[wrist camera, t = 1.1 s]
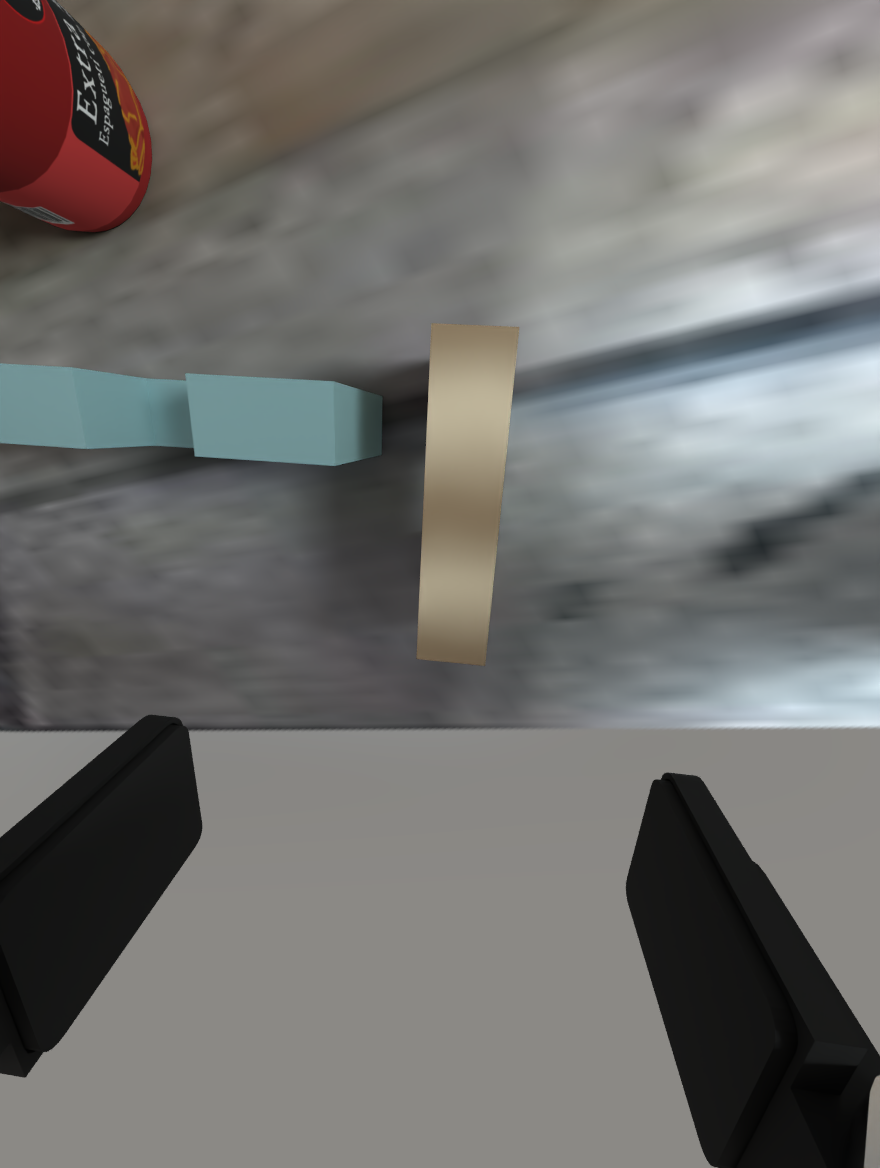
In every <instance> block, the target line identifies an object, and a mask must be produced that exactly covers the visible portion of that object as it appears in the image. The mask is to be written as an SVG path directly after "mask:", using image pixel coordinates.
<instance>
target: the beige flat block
mask: <svg viewBox="0 0 880 1168" xmlns="http://www.w3.org/2000/svg"><path fill="white" fill-rule="evenodd" d="M518 334H519V327H505V326H481V325H457V324H433V323H432V325H431V347H430V369H429V392H428V414H427V436H426V458H425V481H424V503H423V525H422V548H421V570H420V592H419V615H418V637H417V659H422V660H432V661H442V662H452V663H461V664H471V665H481V666H485V661H486V651H487V641H488V631H489V621H490V612H491V602H492V592H493V582H494V572H495V562H496V552H497V542H498V532H499V523H500V513H501V503H502V493H503V483H504V473H505V463H506V453H507V443H508V433H509V424H510V414H511V404H512V394H513V384H514V374H515V364H516V354H517V344H518Z"/></svg>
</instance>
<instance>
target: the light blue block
mask: <svg viewBox="0 0 880 1168" xmlns="http://www.w3.org/2000/svg"><path fill="white" fill-rule="evenodd" d="M185 374H186V373H185ZM0 443H8V444H22V445H37V446H52V447H66V448H81V449H96V448H116V447H137V446H169V447H184V448H194V452H195V456H198V457H212V458H227V459H241V460H256V461H271V462H285V463H300V464H314V465H329V466H337V465H341V464H345V463H350V462H354V461H358V460H362V459H367V458H371V457H375V456H379V455H382V396H380V395H376V394H373V393H370V392H367V391H363V390H360V389H357V388H354V387H350V386H347V385H344V384H341V383H337V382H334V381H318V380H299V379H280V378H261V377H243V376H224V375H205V374H186V381H184V380H166V379H147V378H140V377H133V376H126V375H119V374H113V373H106V372H99V371H92V370H86V369H79V368H72V367H55V366H36V365H17V364H0Z"/></svg>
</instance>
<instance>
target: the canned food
mask: <svg viewBox="0 0 880 1168" xmlns="http://www.w3.org/2000/svg"><path fill="white" fill-rule="evenodd" d="M151 164H152V149H151V138H150V133H149V128H148V124H147V120H146V117H145V115H144V112H143V109H142V107H141V104H140V102H139V100H138V98H137V96H136V95H135V93H134V91H133V89H132V87H131V86H130V84H129V82H128V80H127V79H126V77H125V75H124V74H123V72H122V70H121V69H120V67H119V66H118V65H117V63H116V62H115V61H114V60H113V58H112V57H111V56H110V54H109V53H108V52H107V51H106V50H105V49H104V48H103V47H102V46H101V45H100V44H99V43H98V42H97V41H96V40H95V39H94V38H93V37H92V36H91V35H90V34H89V33H88V32H87V31H86V30H85V29H84V28H83V27H82V26H81V25H80V24H79V23H78V22H77V21H76V20H75V19H74V18H73V17H72V16H71V15H70V14H69V13H68V12H67V11H66V10H65V9H64V8H63V7H62V6H61V5H60V4H59V3H58V2H57V1H56V0H0V201H1V202H3V203H5V204H8V205H10V206H12V207H14V208H16V209H19V210H21V211H23V212H25V213H27V214H29V215H32V216H34V217H36V218H38V219H40V220H42V221H45V222H47V223H49V224H51V225H54V226H57V227H60V228H63V229H66V230H74V231H84V232H100V231H106V230H109V229H112V228H114V227H116V226H119V225H120V224H121V223H123V222H124V221H125V220H127V219H128V218H129V217H130V216H131V215H132V214H133V213H134V211H135V210H136V209H137V208H138V206H139V205H140V203H141V201H142V199H143V197H144V195H145V193H146V190H147V186H148V183H149V179H150V174H151Z"/></svg>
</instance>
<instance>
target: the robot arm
mask: <svg viewBox="0 0 880 1168" xmlns="http://www.w3.org/2000/svg"><path fill="white" fill-rule="evenodd" d="M201 833H202V820H201V813H200V806H199V799H198V793H197V786H196V779H195V772H194V765H193V758H192V752H191V745H190V738H189V732H188V729H187V728H186V727H185V726H183V725H182V722H181V721H180V719H178V718H175V717H166V716H157V715H148V716H145V717H144V718H142V719H141V720H140V721H138V722H137V723H136V724H135V725H134V726H132V727H131V728H130V729H129V730H128V731H127V732H125V733H124V734H123V735H122V736H121V737H119V738H118V739H117V740H116V741H115V742H113V743H112V744H111V745H110V746H109V747H108V748H106V749H105V750H104V751H103V752H102V753H100V754H99V755H98V756H97V757H96V758H95V759H93V760H92V761H91V762H90V763H88V764H87V765H86V766H85V767H84V768H83V769H81V770H80V771H79V772H78V773H77V774H75V775H74V776H73V777H72V778H71V779H69V780H68V781H67V782H66V783H65V784H63V786H61V787H60V788H59V789H57V790H56V791H55V792H54V793H53V794H52V795H50V796H49V797H48V798H47V799H46V800H44V801H43V802H42V803H41V804H40V805H38V806H37V807H36V808H35V809H34V810H33V811H31V812H30V813H29V814H28V815H27V816H25V817H24V818H23V819H22V820H21V821H19V822H18V823H17V824H16V825H15V826H13V827H12V828H11V829H10V830H9V831H8V832H6V833H5V834H4V835H3V836H2V837H1V838H0V1073H2V1074H7V1075H14V1076H19V1077H26V1076H27V1075H28V1073H29V1072H30V1070H31V1069H32V1067H33V1066H34V1065H35V1063H36V1062H37V1060H38V1059H39V1058H40V1056H41V1055H42V1053H43V1052H47V1051H49V1050H51V1049H52V1048H53V1047H54V1046H55V1045H57V1043H59V1041H60V1040H61V1039H62V1037H63V1036H64V1035H65V1033H66V1032H67V1030H68V1029H69V1027H70V1026H71V1025H72V1023H73V1022H74V1020H75V1019H76V1018H77V1016H78V1015H79V1013H80V1012H81V1010H82V1009H83V1008H84V1006H85V1005H86V1003H87V1002H88V1000H89V999H90V997H91V996H92V995H93V993H94V992H95V990H96V989H97V987H98V986H99V985H100V983H101V982H102V980H103V979H104V977H105V976H106V974H107V973H108V972H109V970H110V969H111V967H112V966H113V964H114V963H115V962H116V960H117V959H118V957H119V956H120V954H121V953H122V951H123V950H124V949H125V947H126V946H127V944H128V943H129V941H130V940H131V939H132V937H133V936H134V934H135V933H136V931H137V930H138V928H139V927H140V926H141V924H142V923H143V921H144V920H145V918H146V917H147V915H148V914H149V913H150V911H151V910H152V908H153V907H154V906H155V904H156V902H157V901H158V900H159V898H160V897H161V895H162V894H163V892H164V891H165V890H166V888H167V887H168V885H169V884H170V883H171V881H172V879H173V878H174V877H175V875H176V874H177V872H178V871H179V870H180V868H181V867H182V865H183V864H184V862H185V861H186V860H187V858H188V856H189V855H190V854H191V852H192V851H193V849H194V848H195V846H196V845H197V843H198V841H199V839H200V836H201ZM626 895H627V901H628V905H629V908H630V911H631V915H632V918H633V921H634V925H635V928H636V931H637V935H638V938H639V941H640V945H641V948H642V951H643V955H644V958H645V961H646V965H647V968H648V971H649V975H650V978H651V981H652V985H653V988H654V991H655V994H656V998H657V1001H658V1004H659V1008H660V1011H661V1014H662V1018H663V1021H664V1025H665V1028H666V1031H667V1035H668V1038H669V1041H670V1045H671V1048H672V1051H673V1055H674V1058H675V1061H676V1065H677V1068H678V1071H679V1075H680V1078H681V1081H682V1085H683V1088H684V1091H685V1095H686V1098H687V1101H688V1105H689V1108H690V1111H691V1114H692V1118H693V1121H694V1125H695V1128H696V1131H697V1135H698V1138H699V1141H700V1144H701V1147H702V1150H703V1153H704V1155H705V1157H706V1159H707V1161H708V1162H709V1164H710V1165H711V1166H714V1167H718V1168H880V1056H879V1054H878V1052H877V1051H876V1049H875V1047H874V1046H873V1044H872V1043H871V1041H870V1040H869V1038H868V1036H867V1035H866V1033H865V1032H864V1030H863V1028H862V1027H861V1025H860V1024H859V1022H858V1020H857V1019H856V1018H855V1016H854V1014H853V1013H852V1011H851V1009H850V1008H849V1006H848V1005H847V1003H846V1002H845V1000H844V998H843V997H842V995H841V993H840V992H839V990H838V989H837V987H836V986H835V984H834V982H833V981H832V979H831V978H830V976H829V974H828V973H827V971H826V970H825V968H824V966H823V965H822V963H821V962H820V960H819V958H818V957H817V955H816V954H815V952H814V950H813V949H812V947H811V946H810V944H809V943H808V941H807V939H806V938H805V936H804V935H803V933H802V931H801V930H800V928H799V927H798V925H797V923H796V922H795V920H794V919H793V917H792V916H791V914H790V912H789V911H788V909H787V908H786V906H785V904H784V903H783V901H782V900H781V898H780V897H779V895H778V893H777V892H776V890H775V889H774V887H773V885H772V884H771V882H770V881H769V879H768V877H767V876H766V874H765V873H764V872H763V870H762V869H761V868H760V867H759V865H758V864H756V863H755V862H753V861H752V860H751V858H750V857H749V855H748V853H747V852H746V850H745V848H744V847H743V846H742V844H741V842H740V840H739V839H738V837H737V836H736V834H735V832H734V831H733V829H732V827H731V826H730V825H729V823H728V821H727V819H726V818H725V816H724V815H723V813H722V811H721V810H720V808H719V806H718V805H717V803H716V801H715V800H714V798H713V797H712V795H711V793H710V792H709V790H708V789H707V787H706V785H705V784H704V782H703V781H702V780H701V778H699V777H697V776H693V775H684V774H675V773H665V774H664V775H663V776H662V778H661V780H654V781H653V783H652V785H651V789H650V794H649V797H648V801H647V804H646V808H645V812H644V816H643V819H642V823H641V827H640V831H639V835H638V839H637V842H636V846H635V850H634V854H633V857H632V861H631V865H630V869H629V873H628V876H627V882H626Z"/></svg>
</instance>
